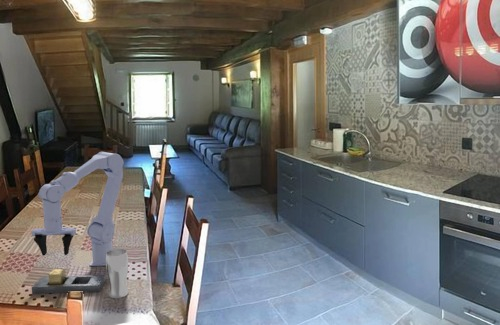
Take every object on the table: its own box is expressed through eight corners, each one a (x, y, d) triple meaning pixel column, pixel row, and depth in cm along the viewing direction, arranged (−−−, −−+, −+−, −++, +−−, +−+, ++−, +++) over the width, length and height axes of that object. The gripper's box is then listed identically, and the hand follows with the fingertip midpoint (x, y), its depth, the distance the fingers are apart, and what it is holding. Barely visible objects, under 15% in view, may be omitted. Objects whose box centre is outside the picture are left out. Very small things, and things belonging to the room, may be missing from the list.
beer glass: (107, 291, 136) (105, 249, 134) (128, 287, 139) (126, 246, 136) (108, 301, 130) (105, 257, 127) (130, 297, 132) (128, 254, 130)
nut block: (54, 285, 140) (53, 269, 139) (66, 285, 140) (65, 269, 139) (49, 290, 136) (48, 274, 135) (61, 290, 136) (60, 274, 135)
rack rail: (42, 282, 142) (42, 276, 141) (105, 281, 144) (105, 274, 143) (32, 293, 134) (31, 287, 134) (99, 291, 136) (98, 285, 135)
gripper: (26, 221, 137) (29, 259, 139) (69, 221, 138) (72, 258, 140) (35, 215, 144) (38, 251, 146) (76, 214, 145) (79, 250, 147)
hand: (55, 254), depth 144 cm, fingers open, 7 cm apart
